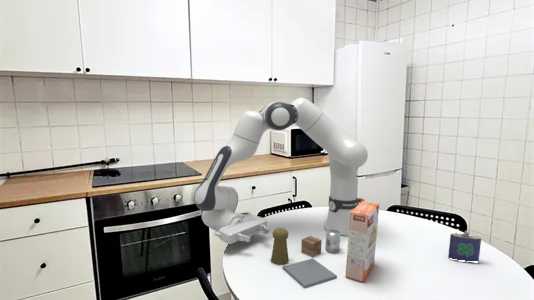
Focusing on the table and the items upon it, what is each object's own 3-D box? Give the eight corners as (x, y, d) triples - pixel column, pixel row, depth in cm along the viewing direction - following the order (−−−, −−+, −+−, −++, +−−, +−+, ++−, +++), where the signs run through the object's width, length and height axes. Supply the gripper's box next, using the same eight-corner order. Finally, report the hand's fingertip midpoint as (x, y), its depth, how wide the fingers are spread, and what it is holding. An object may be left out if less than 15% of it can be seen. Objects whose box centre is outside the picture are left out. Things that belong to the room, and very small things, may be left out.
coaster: (312, 260, 103) (312, 258, 103) (336, 278, 92) (336, 275, 92) (282, 268, 97) (282, 266, 97) (304, 288, 87) (304, 285, 87)
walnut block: (310, 248, 112) (310, 235, 111) (321, 253, 109) (321, 239, 108) (301, 252, 109) (301, 239, 108) (312, 257, 105) (312, 243, 104)
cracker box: (364, 283, 90) (369, 215, 87) (344, 277, 93) (348, 211, 90) (375, 264, 101) (380, 203, 99) (357, 259, 105) (361, 200, 102)
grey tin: (333, 246, 114) (333, 228, 113) (342, 252, 110) (343, 233, 109) (322, 249, 112) (323, 230, 111) (331, 254, 107) (332, 235, 106)
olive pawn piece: (287, 266, 99) (288, 233, 97) (269, 263, 100) (270, 231, 99) (289, 257, 105) (290, 226, 103) (272, 255, 106) (273, 225, 105)
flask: (477, 260, 105) (480, 231, 104) (480, 265, 102) (483, 234, 101) (447, 256, 108) (450, 227, 106) (449, 260, 105) (452, 231, 103)
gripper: (211, 224, 109) (237, 235, 100) (251, 211, 124) (277, 219, 115) (211, 241, 110) (237, 253, 101) (251, 225, 125) (277, 235, 116)
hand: (259, 235), depth 108 cm, fingers open, 8 cm apart
